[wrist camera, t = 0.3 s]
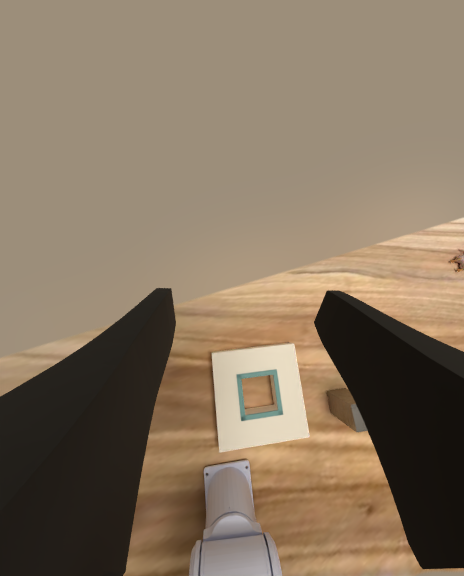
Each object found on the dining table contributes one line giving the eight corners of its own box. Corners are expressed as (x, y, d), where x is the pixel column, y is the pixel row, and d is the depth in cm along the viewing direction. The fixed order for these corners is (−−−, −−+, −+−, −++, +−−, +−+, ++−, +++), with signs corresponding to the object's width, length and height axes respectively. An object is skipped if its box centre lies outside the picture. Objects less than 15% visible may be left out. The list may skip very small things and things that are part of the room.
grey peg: (349, 410, 37) (379, 428, 30) (330, 413, 36) (356, 432, 30) (345, 388, 38) (373, 401, 31) (326, 390, 37) (350, 404, 30)
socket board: (303, 429, 35) (310, 437, 33) (219, 443, 34) (219, 453, 31) (289, 342, 39) (294, 343, 36) (212, 351, 37) (211, 353, 35)
